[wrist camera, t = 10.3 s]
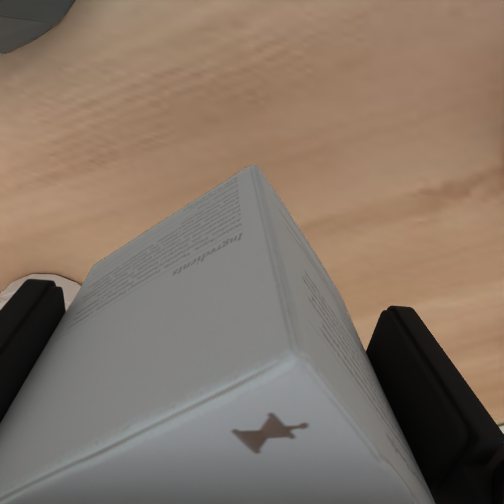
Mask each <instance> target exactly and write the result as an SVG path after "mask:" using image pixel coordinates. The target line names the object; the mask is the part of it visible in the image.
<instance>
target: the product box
mask: <svg viewBox="0 0 504 504" xmlns="http://www.w3.org/2000/svg"><path fill="white" fill-rule="evenodd" d="M0 504H435V502H434V499H433V497H432V495H431V493H430V490H429V488H428V486H427V484H426V481H425V479H424V477H423V475H422V473H421V471H420V469H419V466H418V464H417V462H416V460H415V458H414V456H413V453H412V451H411V449H410V447H409V445H408V442H407V440H406V438H405V436H404V434H403V432H402V430H401V428H400V426H399V423H398V421H397V419H396V417H395V415H394V413H393V411H392V408H391V406H390V404H389V402H388V400H387V398H386V396H385V393H384V391H383V389H382V387H381V385H380V383H379V380H378V378H377V376H376V374H375V372H374V369H373V367H372V365H371V363H370V361H369V358H368V356H367V354H366V352H365V350H364V347H363V345H362V343H361V341H360V338H359V336H358V334H357V331H356V329H355V327H354V324H353V322H352V320H351V317H350V315H349V313H348V311H347V308H346V305H345V303H344V301H343V299H342V297H341V295H340V293H339V291H338V289H337V288H336V286H335V284H334V283H333V281H332V280H331V278H330V276H329V275H328V273H327V271H326V270H325V268H324V267H323V265H322V263H321V262H320V260H319V259H318V257H317V255H316V254H315V252H314V250H313V249H312V247H311V246H310V244H309V242H308V241H307V239H306V238H305V236H304V235H303V233H302V232H301V230H300V229H299V227H298V225H297V224H296V222H295V221H294V219H293V218H292V216H291V215H290V213H289V212H288V210H287V208H286V207H285V205H284V204H283V202H282V201H281V199H280V198H279V196H278V195H277V193H276V192H275V190H274V189H273V187H272V186H271V184H270V183H269V181H268V180H267V179H266V177H265V176H264V174H263V173H262V171H261V170H260V168H259V167H258V166H257V165H250V166H248V167H246V168H244V169H243V170H241V171H240V172H238V173H237V174H235V175H234V176H232V177H231V178H229V179H227V180H226V181H224V182H223V183H221V184H219V185H218V186H216V187H215V188H213V189H212V190H210V191H208V192H207V193H205V194H204V195H202V196H201V197H199V198H197V199H196V200H194V201H193V202H191V203H189V204H188V205H186V206H185V207H183V208H182V209H180V210H178V211H177V212H175V213H174V214H172V215H170V216H169V217H167V218H166V219H164V220H163V221H161V222H159V223H158V224H156V225H155V226H153V227H152V228H150V229H149V230H147V231H145V232H144V233H142V234H141V235H139V236H138V237H136V238H134V239H133V240H131V241H130V242H128V243H127V244H125V245H124V246H122V247H121V248H119V249H118V250H116V251H114V252H113V253H111V254H110V255H108V256H107V257H105V258H104V259H102V260H100V261H99V262H97V263H96V264H95V265H94V266H93V267H92V268H91V270H90V272H89V274H88V276H87V277H86V279H85V281H84V283H83V284H82V286H81V288H80V289H79V291H78V293H77V295H76V296H75V298H74V300H73V301H72V303H71V304H70V306H69V307H68V309H67V311H66V313H65V314H64V316H63V317H62V319H61V321H60V322H59V324H58V326H57V328H56V329H55V331H54V333H53V334H52V336H51V337H50V339H49V341H48V342H47V344H46V346H45V348H44V350H43V351H42V353H41V354H40V356H39V358H38V359H37V361H36V363H35V365H34V366H33V368H32V370H31V371H30V373H29V375H28V377H27V378H26V380H25V382H24V384H23V385H22V387H21V389H20V390H19V392H18V394H17V395H16V397H15V399H14V400H13V402H12V404H11V405H10V407H9V409H8V411H7V413H6V414H5V416H4V418H3V419H2V421H1V423H0Z"/></svg>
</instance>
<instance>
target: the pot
mask: <svg viewBox="0 0 504 504" xmlns="http://www.w3.org/2000/svg"><path fill="white" fill-rule="evenodd" d="M74 1H75V0H0V54H1V53H8V52H11V51H13V50H14V49H16V48H18V47H21V46H23V45H25V44H27V43H29V42H31V41H33V40H35V39H37V38H38V37H40V36H41V35H43V34H44V33H45V32H47V31H48V30H50V29H51V28H52V27H53V26H55V25H57V23H59V21H60V20H61V18H62V17H63V16H64V15H65V14H66V13H67V11H68V10H69V8H70V7H71V6H72V4H73V3H74Z"/></svg>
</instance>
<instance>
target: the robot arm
mask: <svg viewBox="0 0 504 504" xmlns="http://www.w3.org/2000/svg"><path fill="white" fill-rule="evenodd" d="M65 313H66V308H65V301H64V294H63V289H62V287H58V286H56V284H55V282H54V281H53V280H41V279H27V280H26V281H25V282H24V283H23V284H22V285H21V286H20V287H19V289H18V290H17V291H16V292H15V293H14V295H13V296H12V297H11V298H10V299H9V300H8V302H7V303H6V304H5V305H4V306H3V307H2V309H1V310H0V423H1V421H2V419H3V418H4V416H5V414H6V413H7V411H8V409H9V407H10V405H11V404H12V402H13V400H14V399H15V397H16V395H17V394H18V392H19V390H20V389H21V387H22V385H23V384H24V382H25V380H26V378H27V377H28V375H29V373H30V371H31V370H32V368H33V366H34V365H35V363H36V361H37V359H38V358H39V356H40V354H41V353H42V351H43V350H44V348H45V346H46V344H47V342H48V341H49V339H50V337H51V336H52V334H53V333H54V331H55V329H56V328H57V326H58V324H59V322H60V321H61V319H62V317H63V316H64V314H65ZM366 354H367V356H368V358H369V361H370V363H371V365H372V367H373V369H374V372H375V374H376V376H377V378H378V380H379V383H380V385H381V387H382V389H383V391H384V393H385V396H386V398H387V400H388V402H389V404H390V406H391V408H392V411H393V413H394V415H395V417H396V419H397V421H398V423H399V426H400V428H401V430H402V432H403V434H404V436H405V438H406V440H407V442H408V445H409V447H410V449H411V451H412V453H413V456H414V458H415V460H416V462H417V464H418V466H419V469H420V471H421V473H422V475H423V477H424V479H425V481H426V484H427V486H428V488H429V490H430V493H431V495H432V497H433V499H434V502H435V504H504V434H503V433H502V431H501V430H500V428H499V427H498V426H497V424H496V423H495V422H494V420H493V419H492V417H491V416H490V415H489V413H488V412H487V410H486V409H485V408H484V406H483V405H482V403H481V402H480V401H479V399H478V398H477V396H476V395H475V394H474V392H473V391H472V390H471V388H470V387H469V385H468V384H467V383H466V381H465V380H464V378H463V377H462V376H461V374H460V373H459V371H458V370H457V369H456V367H455V366H454V364H453V363H452V362H451V360H450V359H449V358H448V356H447V355H446V353H445V352H444V351H443V349H442V348H441V346H440V345H439V344H438V342H437V341H436V339H435V338H434V337H433V335H432V334H431V332H430V331H429V330H428V328H427V327H426V326H425V324H424V323H423V321H422V320H421V319H420V317H419V316H418V314H417V313H416V312H415V310H414V309H413V308H411V307H403V306H390V307H388V308H387V310H384V311H382V313H381V314H380V317H379V320H378V322H377V325H376V327H375V330H374V332H373V335H372V338H371V340H370V343H369V345H368V348H367V350H366Z"/></svg>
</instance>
